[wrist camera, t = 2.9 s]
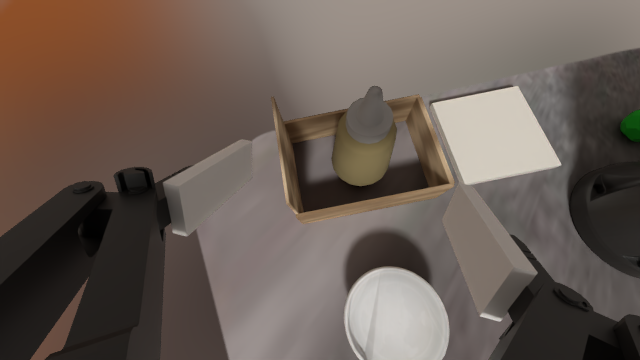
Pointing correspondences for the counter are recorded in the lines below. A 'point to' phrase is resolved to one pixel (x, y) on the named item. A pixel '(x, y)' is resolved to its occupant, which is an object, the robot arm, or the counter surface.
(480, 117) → the cutting board
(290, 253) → the counter surface
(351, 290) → the ramekin
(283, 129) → the wooden box
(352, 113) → the squeeze bottle
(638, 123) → the polyhedron
